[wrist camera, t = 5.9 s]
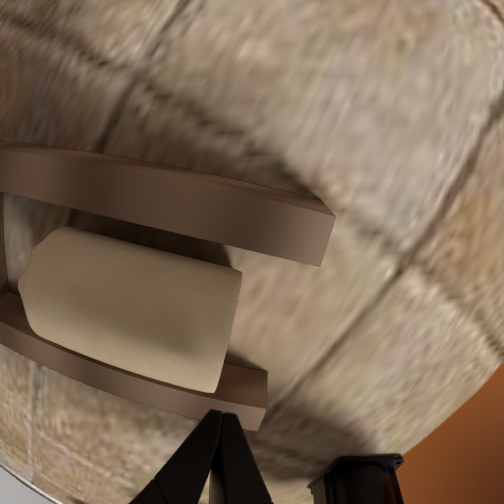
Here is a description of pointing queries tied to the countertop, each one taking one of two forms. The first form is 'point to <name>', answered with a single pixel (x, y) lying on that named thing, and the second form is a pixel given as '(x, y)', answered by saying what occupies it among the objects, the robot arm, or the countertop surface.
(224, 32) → the countertop surface
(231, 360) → the countertop surface
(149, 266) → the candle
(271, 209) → the u rest
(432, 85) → the countertop surface
